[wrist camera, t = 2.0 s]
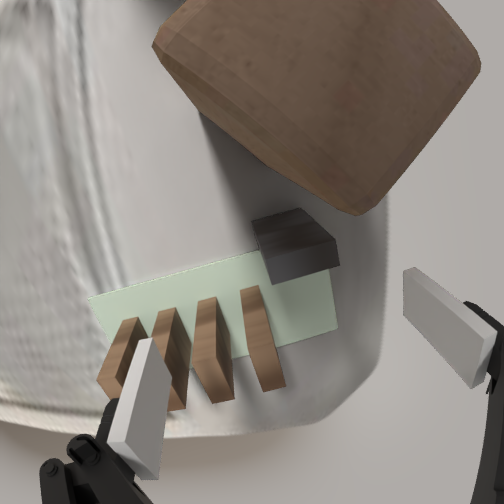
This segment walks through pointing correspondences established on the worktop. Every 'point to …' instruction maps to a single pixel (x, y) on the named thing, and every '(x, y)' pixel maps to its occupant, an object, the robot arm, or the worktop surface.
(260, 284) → the mat
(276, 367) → the domino
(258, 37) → the block
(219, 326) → the domino
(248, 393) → the worktop surface
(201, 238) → the worktop surface
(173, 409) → the domino
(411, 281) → the robot arm
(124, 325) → the domino end
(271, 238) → the dark gray domino
